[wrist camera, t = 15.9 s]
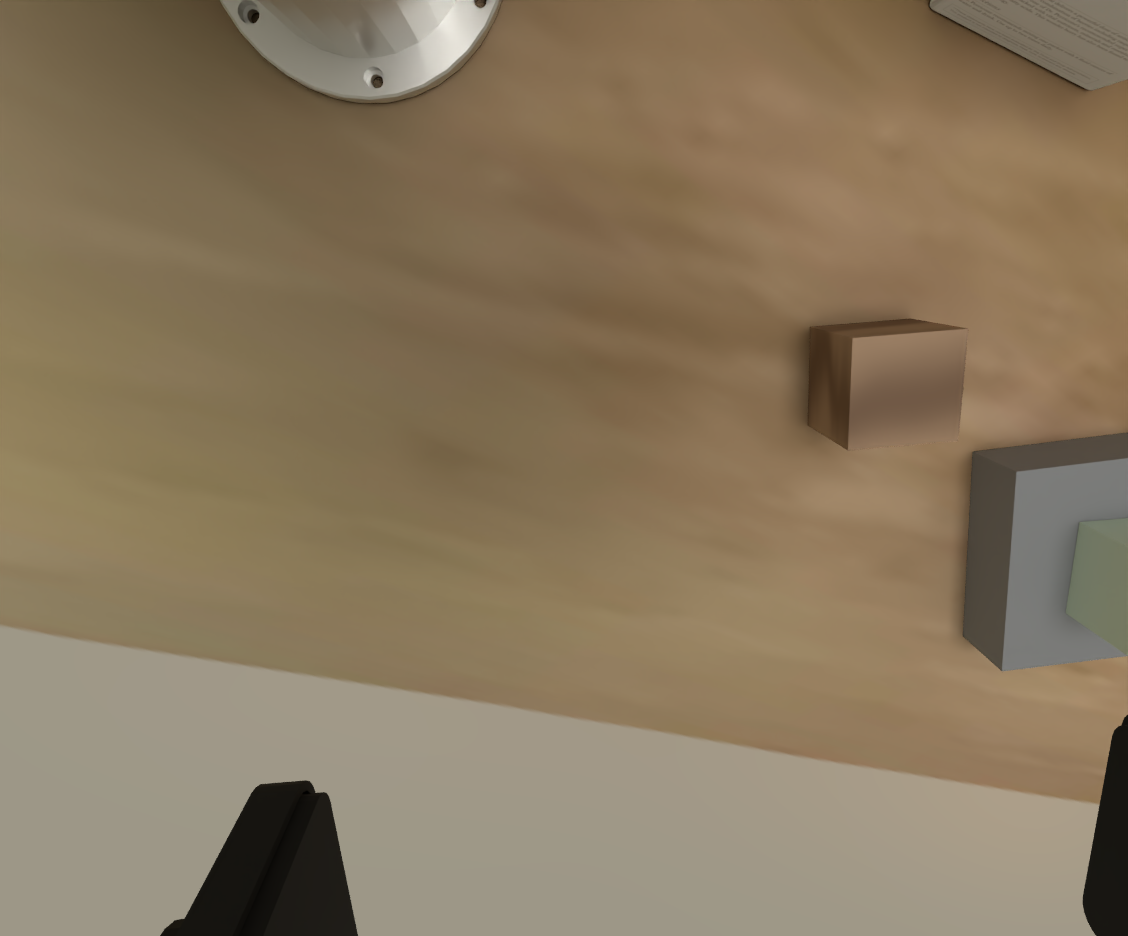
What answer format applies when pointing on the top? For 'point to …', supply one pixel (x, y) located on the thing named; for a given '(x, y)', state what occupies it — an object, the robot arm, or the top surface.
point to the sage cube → (1101, 580)
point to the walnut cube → (886, 382)
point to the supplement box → (1054, 34)
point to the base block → (1037, 546)
